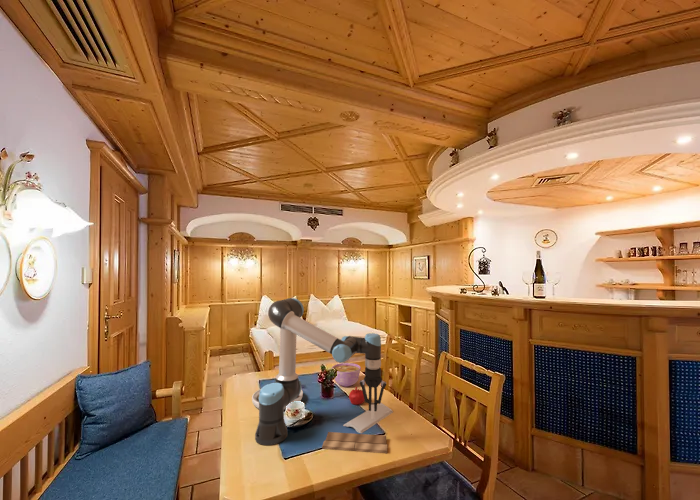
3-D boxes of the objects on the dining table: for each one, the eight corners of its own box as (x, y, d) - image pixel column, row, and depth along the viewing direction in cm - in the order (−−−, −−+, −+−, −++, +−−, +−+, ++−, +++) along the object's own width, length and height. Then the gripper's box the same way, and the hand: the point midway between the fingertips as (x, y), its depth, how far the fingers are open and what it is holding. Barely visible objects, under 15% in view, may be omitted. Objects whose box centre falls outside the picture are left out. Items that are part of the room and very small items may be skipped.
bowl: (240, 408, 182) (241, 395, 183) (271, 389, 210) (271, 377, 210) (285, 417, 171) (285, 402, 172) (311, 395, 199) (311, 383, 200)
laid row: (322, 448, 142) (322, 446, 142) (324, 442, 146) (324, 440, 146) (387, 453, 138) (387, 450, 138) (387, 447, 142) (387, 444, 142)
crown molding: (361, 434, 154) (361, 427, 154) (342, 426, 162) (342, 419, 162) (393, 412, 176) (392, 406, 176) (375, 406, 184) (375, 400, 184)
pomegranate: (365, 406, 184) (365, 390, 184) (348, 406, 184) (348, 390, 184) (365, 399, 193) (365, 383, 194) (349, 398, 194) (349, 383, 194)
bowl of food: (366, 382, 221) (365, 365, 221) (351, 392, 203) (351, 374, 204) (342, 377, 231) (342, 361, 231) (326, 386, 214) (326, 369, 214)
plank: (325, 442, 147) (325, 439, 147) (328, 434, 153) (328, 431, 152) (386, 446, 143) (386, 443, 143) (386, 437, 149) (386, 435, 149)
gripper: (358, 369, 147) (358, 420, 146) (386, 370, 145) (386, 422, 144) (360, 363, 155) (359, 413, 154) (386, 365, 153) (386, 414, 152)
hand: (372, 417), depth 149 cm, fingers closed
